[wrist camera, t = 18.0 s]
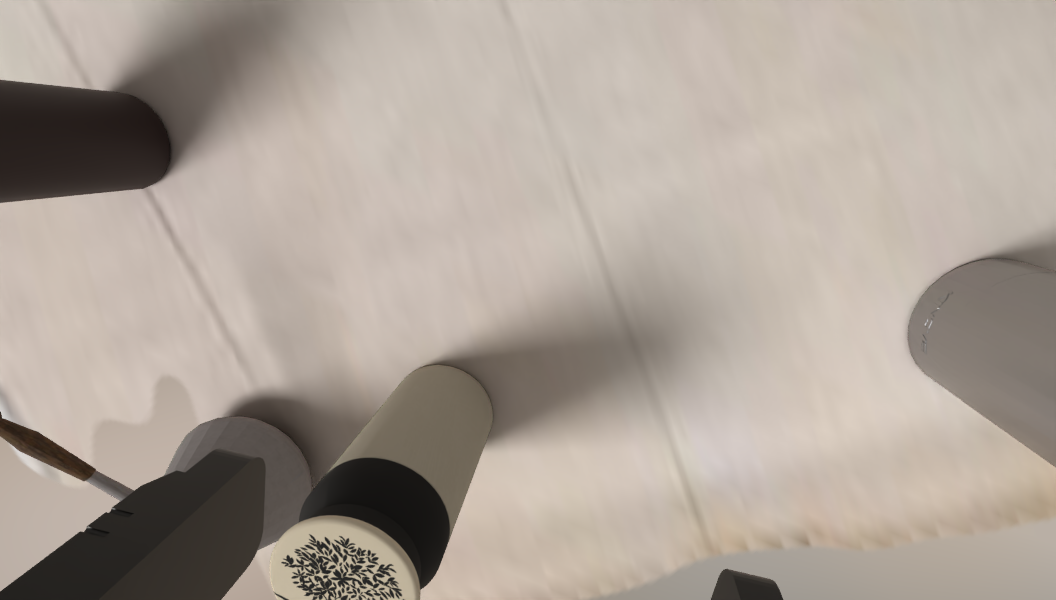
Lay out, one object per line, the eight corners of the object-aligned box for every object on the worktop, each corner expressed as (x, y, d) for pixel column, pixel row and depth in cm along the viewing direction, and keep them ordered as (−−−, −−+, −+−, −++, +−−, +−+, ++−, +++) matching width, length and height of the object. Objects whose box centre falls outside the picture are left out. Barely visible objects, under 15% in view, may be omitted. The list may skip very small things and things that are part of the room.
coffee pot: (352, 491, 46) (242, 647, 32) (252, 537, 49) (109, 699, 35) (202, 275, 42) (0, 342, 28) (102, 338, 45) (-128, 429, 31)
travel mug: (433, 343, 41) (316, 484, 24) (514, 406, 42) (456, 588, 25) (376, 412, 44) (234, 586, 27) (454, 472, 44) (363, 679, 27)
